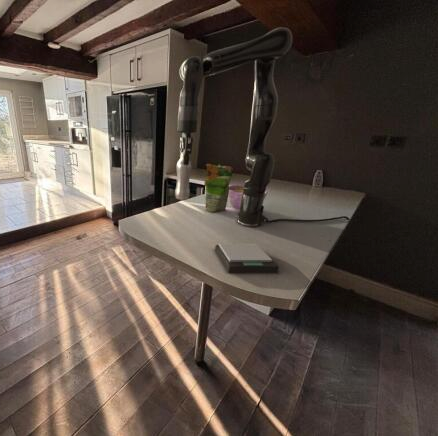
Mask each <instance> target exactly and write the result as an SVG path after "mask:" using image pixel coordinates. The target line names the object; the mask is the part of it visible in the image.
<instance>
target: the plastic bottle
mask: <svg viewBox="0 0 438 436" xmlns="http://www.w3.org/2000/svg"><path fill="white" fill-rule="evenodd" d="M183 153H184V152H180V155H179V157H180V158H179V160H177V163H176V185H175V190H174V197H175V199H177V200H181V201H186V200H188V199H189V198H190V195H191V192H190V191H191V190H190V179H191V173H192V167H193V166H192V162H191V160H190V159H189V164H188V165H184V164H183V158H184V154H183Z"/></svg>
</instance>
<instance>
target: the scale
mask: <svg viewBox="0 0 438 436" xmlns="http://www.w3.org/2000/svg"><path fill="white" fill-rule="evenodd" d="M214 247H215V248H214V251H215V253H216V255H217V257H218V258H219V260H220V261H221V262H222V264H223V266H224V268H225V270H226V272H227V273H229V274H247V273H249V274H253V273H254V274H255V273H256V274H259V273H260V274H262V273H263V274H266V273H267V274H273V273H274V274H275V273H276V274H278V272H279V268H280V266H279V264H278V263H276V262H275V261H274V259H273V258H272V257H271V256H270V255H268V253H267V252H266V251H264V249H263V248H262V247H261V246H260V245H259V244H258V243H218V244H215V246H214Z"/></svg>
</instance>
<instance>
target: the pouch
mask: <svg viewBox="0 0 438 436" xmlns="http://www.w3.org/2000/svg"><path fill="white" fill-rule="evenodd" d="M205 166H206V168H207V169H206V170H207V174H205V176H206V179H205V180H204V186H205V206H204V207H205V210H206V211H207V212H211V213H215V212H217V211H226V209H227V205H228V204H227V203H228V201H229V196H228V194H229V186H230V183H231V179H232V177H233V174H234V167H233V166H231V165H221V164H218V165H216V164H211V163H206V165H205Z"/></svg>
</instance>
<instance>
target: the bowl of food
mask: <svg viewBox="0 0 438 436" xmlns="http://www.w3.org/2000/svg"><path fill="white" fill-rule="evenodd" d="M243 189H244V184H232V185H229V194H228V202H229V204H230V206H231V207H232V208H234V209H235V210H236V211H238V212H239V211H240V205H241V200H242V195H243ZM267 195H268V190H266V191H265V196H264V200H263V202H264V201H265V198H266V197H267Z"/></svg>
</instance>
